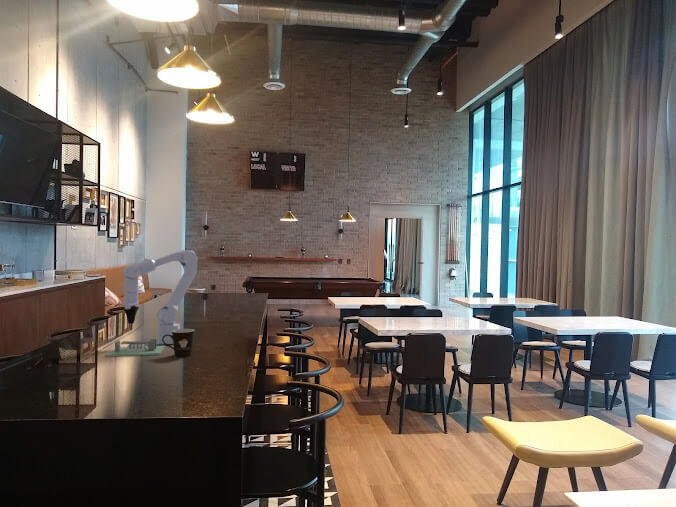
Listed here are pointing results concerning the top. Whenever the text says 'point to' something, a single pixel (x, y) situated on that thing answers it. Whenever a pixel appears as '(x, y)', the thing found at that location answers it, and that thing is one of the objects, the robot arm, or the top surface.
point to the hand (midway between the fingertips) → (131, 323)
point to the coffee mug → (181, 342)
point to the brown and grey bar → (135, 342)
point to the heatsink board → (136, 349)
